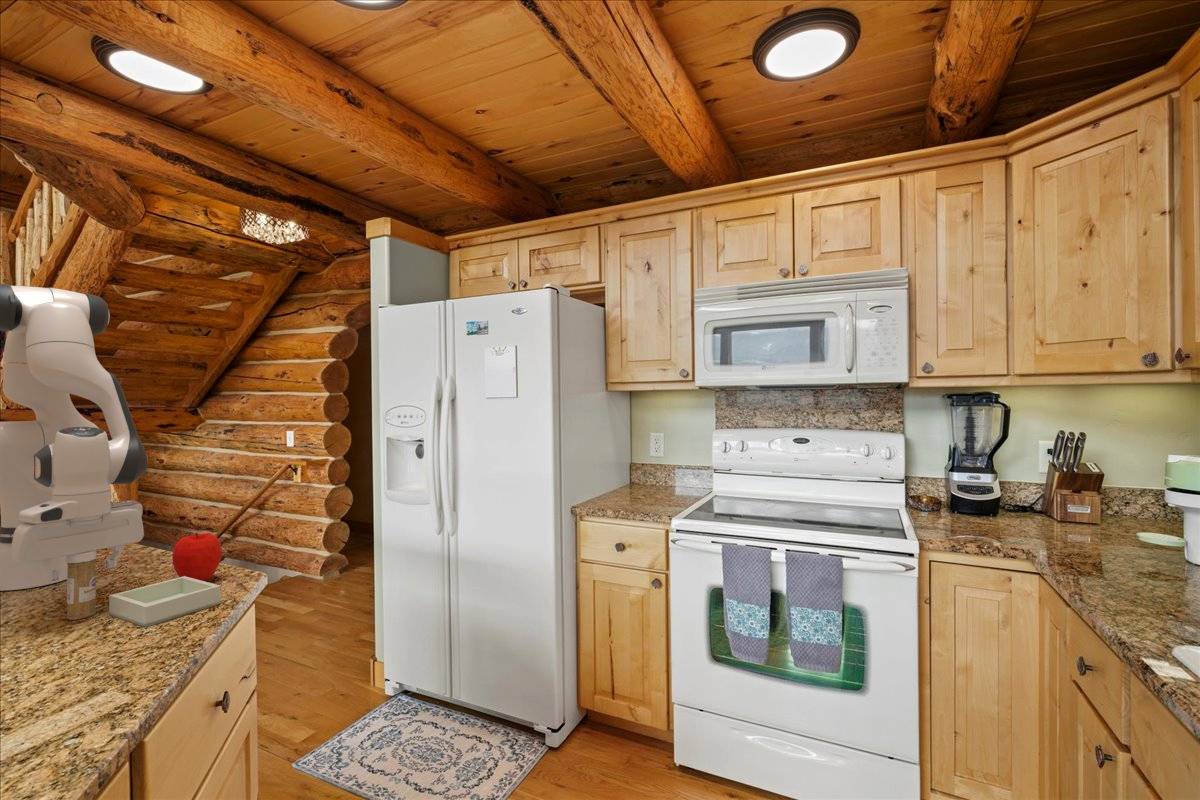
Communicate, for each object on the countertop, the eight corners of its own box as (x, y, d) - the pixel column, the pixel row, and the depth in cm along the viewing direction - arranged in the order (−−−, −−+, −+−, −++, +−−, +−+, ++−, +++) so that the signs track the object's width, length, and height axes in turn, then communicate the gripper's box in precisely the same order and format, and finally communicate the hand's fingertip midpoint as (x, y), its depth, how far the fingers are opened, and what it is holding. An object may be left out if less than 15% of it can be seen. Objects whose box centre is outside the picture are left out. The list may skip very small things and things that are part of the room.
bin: (109, 614, 115) (109, 595, 115) (184, 593, 128) (184, 576, 128) (145, 627, 109) (145, 607, 109) (220, 604, 121) (220, 585, 121)
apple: (204, 573, 142) (204, 526, 142) (231, 578, 139) (232, 529, 139) (162, 585, 133) (162, 534, 133) (190, 591, 129) (190, 538, 129)
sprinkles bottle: (93, 617, 113) (94, 551, 113) (63, 622, 111) (63, 555, 111) (98, 610, 117) (98, 546, 117) (68, 614, 115) (69, 549, 115)
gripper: (134, 497, 125) (134, 559, 125) (7, 514, 106) (7, 586, 106) (149, 499, 122) (150, 562, 122) (21, 516, 104) (21, 591, 103)
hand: (82, 573), depth 114 cm, fingers open, 8 cm apart
